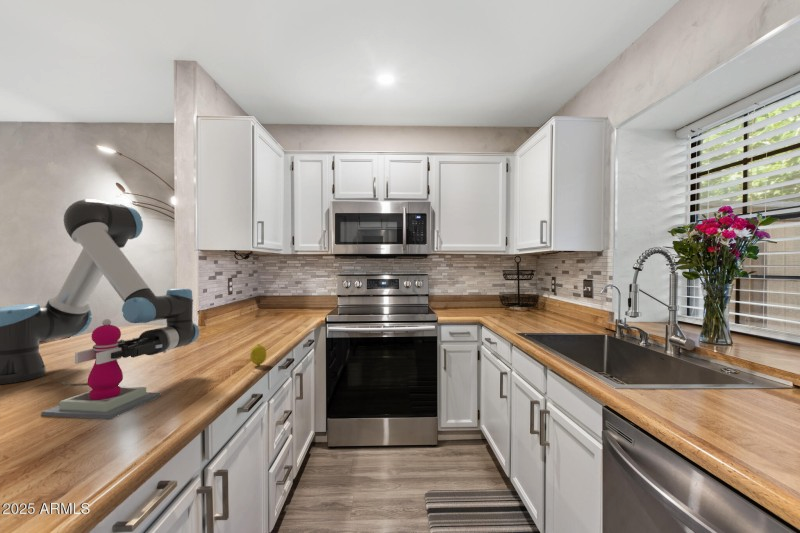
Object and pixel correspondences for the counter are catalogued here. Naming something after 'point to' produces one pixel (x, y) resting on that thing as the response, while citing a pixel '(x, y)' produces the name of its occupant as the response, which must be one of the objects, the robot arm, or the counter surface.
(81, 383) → the pliers
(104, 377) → the pepper mill
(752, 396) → the counter surface
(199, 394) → the counter surface
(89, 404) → the pocket board
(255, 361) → the lemon
